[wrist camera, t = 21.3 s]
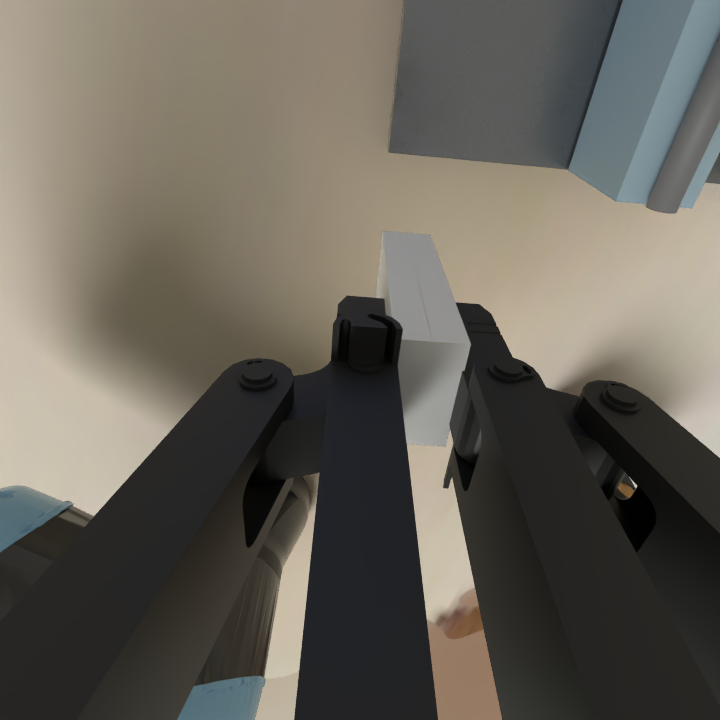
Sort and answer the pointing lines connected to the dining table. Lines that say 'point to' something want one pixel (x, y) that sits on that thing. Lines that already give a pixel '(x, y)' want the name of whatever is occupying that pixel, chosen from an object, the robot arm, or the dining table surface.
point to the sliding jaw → (655, 106)
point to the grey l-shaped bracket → (499, 78)
